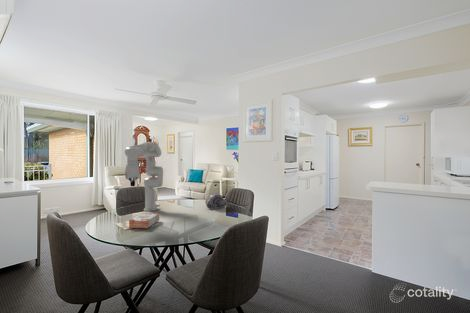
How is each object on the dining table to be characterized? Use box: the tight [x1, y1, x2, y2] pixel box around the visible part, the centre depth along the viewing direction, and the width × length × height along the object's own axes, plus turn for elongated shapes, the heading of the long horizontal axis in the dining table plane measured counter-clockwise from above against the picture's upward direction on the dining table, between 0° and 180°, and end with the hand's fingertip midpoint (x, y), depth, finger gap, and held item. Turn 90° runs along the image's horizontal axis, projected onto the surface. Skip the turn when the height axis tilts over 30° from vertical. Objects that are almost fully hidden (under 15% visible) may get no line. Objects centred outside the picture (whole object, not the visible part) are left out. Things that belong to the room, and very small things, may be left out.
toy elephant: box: [205, 193, 228, 210], centre depth 233 cm, size 20×18×15 cm
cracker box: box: [128, 212, 160, 229], centre depth 180 cm, size 14×6×21 cm
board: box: [114, 220, 133, 231], centre depth 183 cm, size 22×20×1 cm
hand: (132, 186), depth 186 cm, fingers closed
